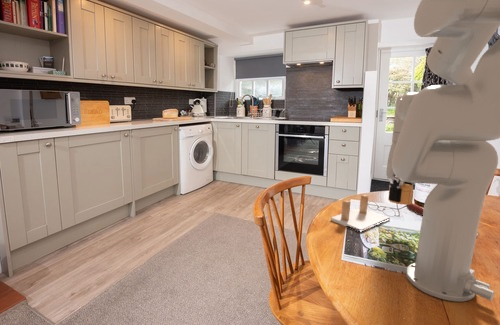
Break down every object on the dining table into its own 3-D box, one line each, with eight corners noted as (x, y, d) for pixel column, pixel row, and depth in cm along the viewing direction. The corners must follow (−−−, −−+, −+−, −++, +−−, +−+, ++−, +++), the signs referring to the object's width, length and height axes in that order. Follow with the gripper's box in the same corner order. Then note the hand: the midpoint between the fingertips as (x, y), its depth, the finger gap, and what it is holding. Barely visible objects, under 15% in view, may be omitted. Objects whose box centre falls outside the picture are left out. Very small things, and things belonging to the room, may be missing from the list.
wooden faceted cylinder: (415, 202, 87) (417, 185, 86) (405, 205, 83) (407, 188, 82) (395, 197, 92) (396, 182, 91) (385, 200, 88) (386, 184, 87)
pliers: (421, 227, 92) (422, 219, 91) (405, 205, 111) (405, 199, 110) (462, 232, 89) (464, 224, 89) (439, 209, 108) (440, 202, 108)
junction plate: (389, 220, 96) (391, 199, 95) (360, 232, 87) (363, 210, 85) (359, 210, 105) (361, 191, 103) (330, 220, 95) (332, 199, 94)
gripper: (407, 137, 93) (401, 192, 95) (378, 138, 82) (372, 200, 85) (433, 139, 87) (426, 198, 89) (405, 141, 76) (398, 207, 79)
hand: (400, 198), depth 87 cm, fingers closed on wooden faceted cylinder, 6 cm apart
